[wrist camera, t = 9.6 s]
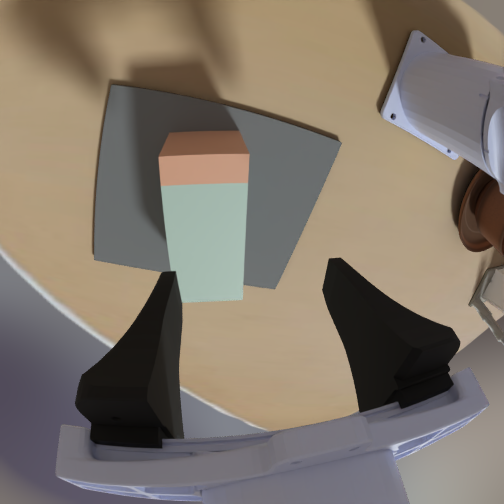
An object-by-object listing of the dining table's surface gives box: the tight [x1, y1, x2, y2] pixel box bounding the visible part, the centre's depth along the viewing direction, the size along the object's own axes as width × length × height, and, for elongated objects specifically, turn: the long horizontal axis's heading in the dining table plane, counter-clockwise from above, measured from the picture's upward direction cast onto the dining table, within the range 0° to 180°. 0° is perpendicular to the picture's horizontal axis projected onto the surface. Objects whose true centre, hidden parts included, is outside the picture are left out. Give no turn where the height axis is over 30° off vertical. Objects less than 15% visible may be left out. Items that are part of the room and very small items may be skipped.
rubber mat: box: [94, 84, 342, 289], centre depth 21 cm, size 16×14×1 cm
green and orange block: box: [159, 131, 250, 303], centre depth 19 cm, size 10×4×5 cm, turn 177°
